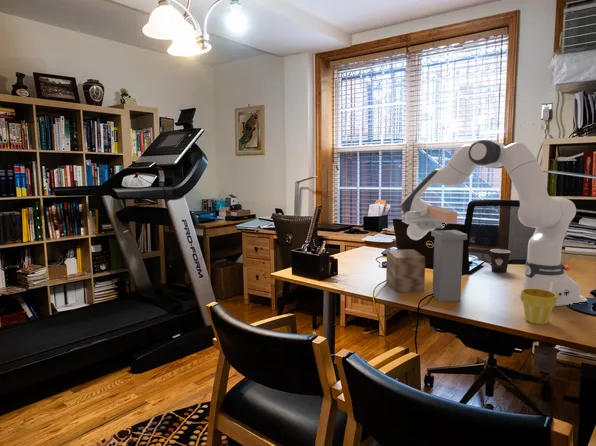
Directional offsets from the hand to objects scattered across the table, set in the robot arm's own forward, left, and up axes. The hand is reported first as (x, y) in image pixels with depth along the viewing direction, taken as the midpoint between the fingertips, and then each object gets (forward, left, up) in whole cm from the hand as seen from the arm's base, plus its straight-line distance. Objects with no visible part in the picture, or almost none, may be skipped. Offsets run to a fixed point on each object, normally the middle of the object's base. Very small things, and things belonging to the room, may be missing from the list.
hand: (434, 210), depth 175 cm
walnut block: (+12, +1, -33) cm, 35 cm away
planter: (0, +8, -3) cm, 8 cm away
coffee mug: (-39, -21, -33) cm, 55 cm away
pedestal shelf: (0, +16, -33) cm, 36 cm away
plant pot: (-21, +41, -33) cm, 57 cm away
